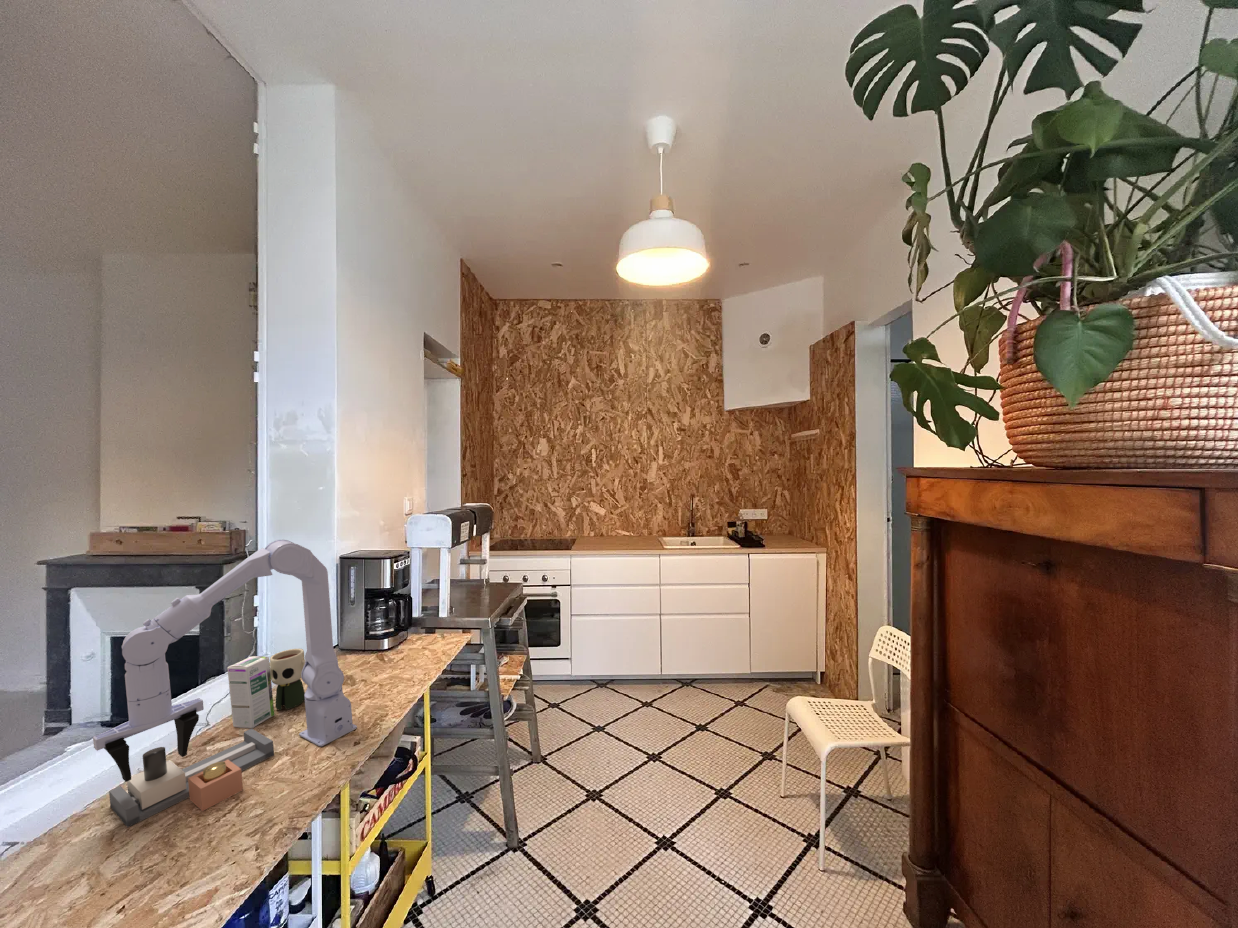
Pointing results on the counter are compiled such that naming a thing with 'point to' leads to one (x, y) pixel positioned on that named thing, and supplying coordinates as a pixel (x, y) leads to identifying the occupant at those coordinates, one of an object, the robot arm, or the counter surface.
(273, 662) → the character mug
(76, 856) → the counter surface
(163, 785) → the carriage
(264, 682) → the syrup box
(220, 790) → the box
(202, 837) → the counter surface
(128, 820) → the rail
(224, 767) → the button
